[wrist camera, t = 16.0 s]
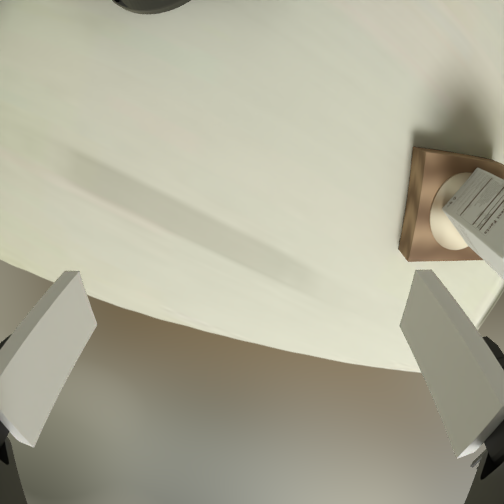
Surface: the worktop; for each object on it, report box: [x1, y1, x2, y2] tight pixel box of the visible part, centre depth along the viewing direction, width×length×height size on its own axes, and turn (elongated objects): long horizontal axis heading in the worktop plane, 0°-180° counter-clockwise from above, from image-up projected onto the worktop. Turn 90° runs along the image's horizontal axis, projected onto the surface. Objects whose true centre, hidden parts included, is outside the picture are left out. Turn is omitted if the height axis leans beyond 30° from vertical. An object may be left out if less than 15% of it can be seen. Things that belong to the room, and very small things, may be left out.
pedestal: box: [398, 147, 504, 262], centre depth 40 cm, size 16×16×4 cm
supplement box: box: [442, 168, 504, 279], centre depth 31 cm, size 9×9×15 cm
